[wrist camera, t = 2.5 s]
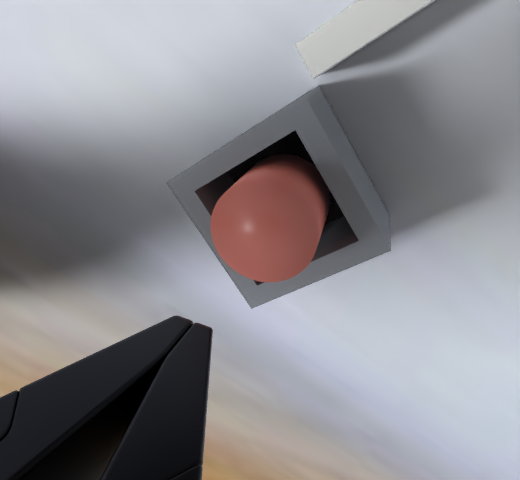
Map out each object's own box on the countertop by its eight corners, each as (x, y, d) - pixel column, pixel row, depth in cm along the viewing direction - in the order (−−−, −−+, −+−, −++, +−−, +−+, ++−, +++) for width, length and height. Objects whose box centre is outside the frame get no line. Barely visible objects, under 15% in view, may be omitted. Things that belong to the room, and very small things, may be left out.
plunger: (270, 253, 18) (247, 296, 15) (224, 181, 17) (190, 211, 14) (346, 217, 16) (338, 257, 13) (300, 136, 16) (280, 158, 13)
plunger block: (271, 268, 20) (251, 308, 17) (201, 160, 19) (166, 182, 16) (389, 214, 18) (391, 250, 15) (318, 85, 16) (304, 94, 13)
